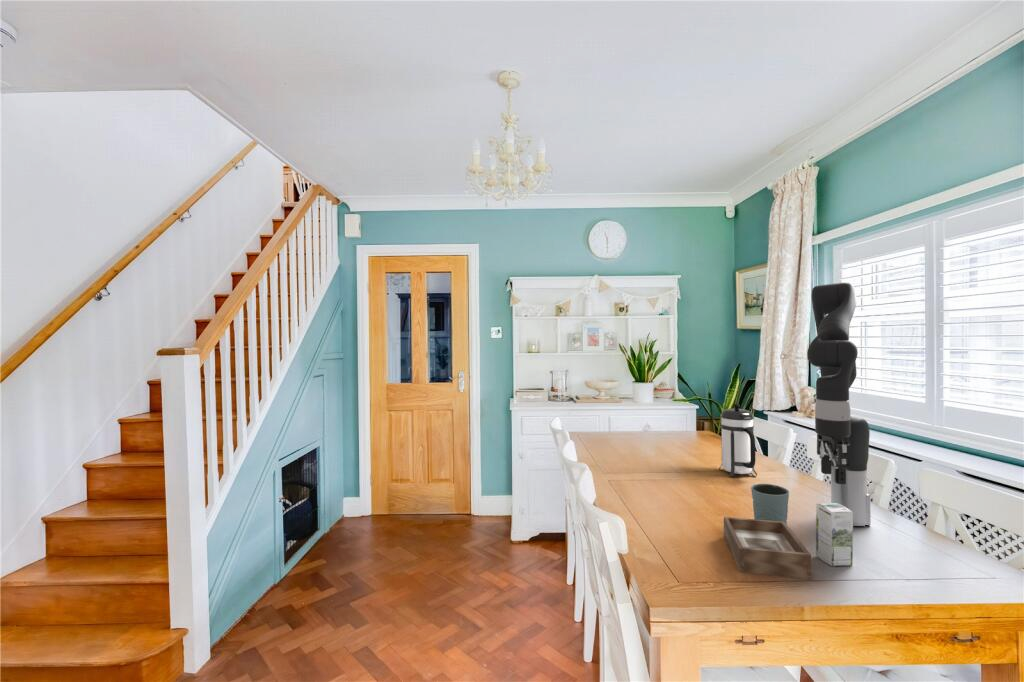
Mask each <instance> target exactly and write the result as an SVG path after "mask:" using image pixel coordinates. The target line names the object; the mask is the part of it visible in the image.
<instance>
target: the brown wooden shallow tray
mask: <svg viewBox="0 0 1024 682" xmlns="http://www.w3.org/2000/svg"><path fill="white" fill-rule="evenodd" d="M723 538H724V540H725V542H727V543H726V545H727V547H728V549H729V551H731V552H730V554H731V556H732V558H733V560H734V563H735V565H736V568H737V569H738V572H740V573H745V574H746V573H747V574H757V575H765V576H766V575H767V576H774V577H775V576H776V577H786V578H796V579H803V580H812V576H813V575H812V554H811V553H810V551H808V549H807V548H806V546H805V545H804V544H803V543H802V542H801V541H800V539H799V538H798V537H797V535H796V534H795V533H794V532H793V531H792V529H791V527H789V525H788V523H787V524H786V523H785V522H783V521H770V520H757V519H754V518H742V517H741V518H740V517H730V516H723Z"/></svg>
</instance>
